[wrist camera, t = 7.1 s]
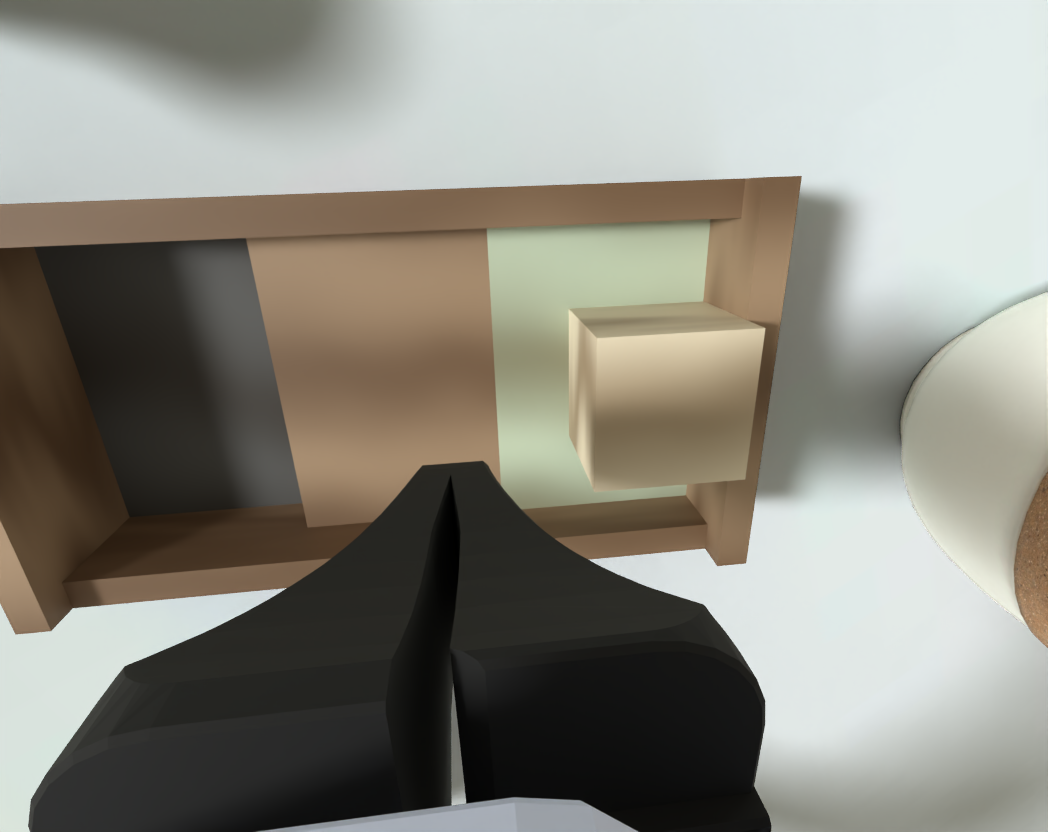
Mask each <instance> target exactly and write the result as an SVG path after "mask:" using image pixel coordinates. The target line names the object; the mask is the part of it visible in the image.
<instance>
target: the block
mask: <svg viewBox="0 0 1048 832" xmlns="http://www.w3.org/2000/svg"><path fill="white" fill-rule="evenodd" d="M764 335H765V328H764V327H762V326H759V325H757V324H755V323H752V322H750V321H748V320H745V319H743V318H741V317H738V316H736V315H734V314H731V313H729V312H727V311H724V310H722V309H720V308H717V307H715V306H713V305H710V304H708V303H706V302H703V301H701V302H682V303H664V304H646V305H627V306H609V307H590V308H572V309H569V437H570V439H571V441H572V444H573V446H574V448H575V450H576V452H577V455H578V457H579V459H580V461H581V463H582V466H583V468H584V470H585V472H586V474H587V477H588V479H589V481H590V483H591V486H592V488H593V490H594V492H602V491H614V490H626V489H638V488H650V487H662V486H674V485H685V484H697V483H709V482H721V481H733V480H745V477H746V470H747V462H748V455H749V447H750V440H751V432H752V425H753V417H754V410H755V402H756V395H757V388H758V380H759V373H760V365H761V358H762V350H763V343H764Z"/></svg>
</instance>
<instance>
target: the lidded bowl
mask: <svg viewBox="0 0 1048 832" xmlns="http://www.w3.org/2000/svg"><path fill="white" fill-rule="evenodd" d="M900 435H901V442H902V454H901V463H902V470H903V477H904V481H905V485H906V488H907V492H908V495H909V497H910V500H911V503H912V506H913V508H914V509H915V511H916V513H917V515H918V517H919V518H920V520H921V522H922V524H923V525H924V527H925V528H926V530H927V532H928V533H929V535H930V536H931V538H932V539H933V540H934V541H935V543H936V544H937V545H938V546H939V547H940V549H941V550H942V551H943V552H944V553H945V555H946V556H947V557H948V558H949V559H950V560H951V561H952V562H953V563H954V564H955V565H956V566H957V567H958V568H959V569H960V570H961V571H962V572H963V573H964V574H965V575H966V576H967V577H968V578H969V579H970V580H971V581H972V582H973V583H974V584H976V585H977V586H978V587H979V588H980V589H981V590H982V591H983V592H984V593H985V594H986V595H987V596H989V597H990V598H991V599H992V600H993V601H995V602H996V603H997V604H998V605H1000V606H1001V607H1002V608H1003V609H1004V610H1006V611H1007V612H1008V613H1009V614H1010V615H1012V616H1013V617H1014V618H1016V619H1017V620H1018V621H1020V622H1021V623H1022V624H1024V625H1025V626H1026V627H1028V628H1029V629H1030V631H1031V632H1032V633H1033V634H1034V635H1035V636H1036V637H1037V638H1038V639H1039V640H1040V641H1041V642H1042V643H1043V644H1044V645H1045V646H1046V647H1047V648H1048V292H1046V293H1043V294H1040V295H1038V296H1035V297H1033V298H1030V299H1028V300H1025V301H1023V302H1021V303H1018V304H1016V305H1013V306H1011V307H1009V308H1007V309H1005V310H1003V311H1002V312H1000V313H998V314H996V315H995V316H993V317H991V318H989V319H988V320H986V321H985V322H983V323H981V324H980V325H978V326H977V327H974V328H972V329H970V330H968V331H966V332H964V333H963V334H961V335H959V336H957V337H956V338H954V339H953V340H952V341H950V342H949V343H948V344H946V345H945V346H944V347H942V348H941V349H940V350H939V351H938V352H937V353H936V354H935V355H934V356H933V357H932V358H931V359H930V360H929V361H928V363H927V364H926V365H925V366H924V367H923V368H922V370H921V371H920V373H919V374H918V376H917V377H916V379H915V380H914V382H913V384H912V386H911V388H910V390H909V392H908V394H907V396H906V399H905V402H904V405H903V409H902V414H901V419H900Z"/></svg>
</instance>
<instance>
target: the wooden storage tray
mask: <svg viewBox="0 0 1048 832" xmlns="http://www.w3.org/2000/svg"><path fill="white" fill-rule="evenodd" d="M801 177H802V176H793V177H764V178H749V179H722V180H693V181H664V182H635V183H606V184H577V185H548V186H519V187H489V188H460V189H431V190H402V191H373V192H344V193H315V194H286V195H257V196H228V197H199V198H169V199H140V200H111V201H82V202H53V203H24V204H0V604H1V606H2V608H3V610H4V612H5V614H6V616H7V618H8V620H9V622H10V624H11V626H12V628H13V630H14V632H15V634H25V633H36V632H46V631H52V629H53V628H54V627H55V626H56V625H57V624H58V623H59V622H60V621H61V620H62V619H63V618H64V617H65V616H66V615H67V614H68V613H69V611H70V610H71V609H72V608H79V607H90V606H101V605H111V604H122V603H132V602H143V601H154V600H164V599H175V598H185V597H196V596H207V595H217V594H228V593H238V592H249V591H260V590H270V589H281V588H288V587H290V586H291V585H293V584H294V583H296V582H297V581H299V580H301V579H302V578H304V577H305V576H307V575H308V574H310V573H311V572H313V571H314V570H316V569H317V568H319V567H320V566H322V565H323V564H324V563H326V562H327V561H328V560H330V559H331V558H332V557H334V556H335V555H336V554H337V553H339V552H340V551H341V550H343V549H344V548H345V547H346V546H347V545H349V544H350V543H351V542H352V541H353V540H354V539H356V538H357V537H358V536H359V535H360V534H361V533H362V532H363V531H364V530H365V529H366V528H367V527H368V526H369V525H370V524H371V523H372V522H373V521H374V520H375V519H376V518H377V517H378V516H379V515H380V514H381V513H382V512H383V511H384V510H385V509H386V508H387V507H388V505H389V504H390V503H391V502H392V501H393V500H394V499H395V498H396V496H397V495H398V494H399V493H400V492H401V490H402V489H403V488H404V487H405V486H406V484H407V483H408V482H409V481H410V479H411V478H412V477H413V476H414V474H415V473H416V472H417V471H418V470H419V469H420V468H421V466H422V465H434V464H447V463H460V462H472V461H484V462H485V463H486V464H487V465H488V466H489V468H490V470H491V472H492V473H493V475H494V476H495V478H496V479H497V481H498V482H499V483H500V485H501V486H502V487H503V489H504V490H505V491H506V492H507V494H508V495H509V496H510V497H511V498H512V499H513V500H514V502H515V503H516V504H517V505H518V506H519V507H520V508H521V509H522V510H523V511H524V512H525V513H526V514H527V515H528V516H529V517H530V518H531V519H532V520H533V521H534V522H535V523H536V524H537V525H538V526H539V527H541V528H542V529H543V530H544V531H545V532H546V533H548V534H549V535H550V536H552V537H553V538H555V539H556V540H557V541H559V542H560V543H561V544H563V545H564V546H566V547H568V548H569V549H571V550H572V551H574V552H575V553H577V554H579V555H581V556H583V557H584V558H586V559H598V558H609V557H620V556H630V555H641V554H651V553H662V552H673V551H683V550H694V549H704V548H705V549H706V550H707V552H708V553H709V555H710V556H711V558H712V559H713V560H714V562H715V563H716V565H717V566H723V565H733V564H744V563H746V559H747V552H748V545H749V538H750V531H751V524H752V517H753V511H754V504H755V497H756V490H757V483H758V476H759V469H760V462H761V455H762V448H763V441H764V434H765V427H766V420H767V413H768V406H769V399H770V393H771V386H772V379H773V372H774V365H775V358H776V351H777V344H778V337H779V330H780V323H781V316H782V309H783V302H784V295H785V288H786V281H787V275H788V268H789V261H790V254H791V247H792V240H793V233H794V226H795V219H796V212H797V205H798V198H799V191H800V184H801ZM701 301H703V302H706V303H708V304H710V305H713V306H715V307H717V308H720V309H722V310H724V311H727V312H729V313H731V314H734V315H736V316H738V317H741V318H743V319H745V320H748V321H750V322H752V323H755V324H757V325H759V326H762V327H764V328H765V335H764V343H763V350H762V358H761V365H760V373H759V380H758V388H757V395H756V402H755V410H754V417H753V425H752V432H751V440H750V447H749V455H748V462H747V470H746V477H745V480H733V481H721V482H709V483H697V484H685V485H674V486H662V487H650V488H638V489H626V490H614V491H602V492H594V490H593V488H592V486H591V483H590V481H589V479H588V477H587V474H586V472H585V470H584V468H583V466H582V463H581V461H580V459H579V457H578V455H577V452H576V450H575V448H574V446H573V444H572V441H571V439H570V437H569V309H572V308H590V307H609V306H627V305H646V304H664V303H682V302H701Z"/></svg>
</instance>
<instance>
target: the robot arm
mask: <svg viewBox="0 0 1048 832" xmlns="http://www.w3.org/2000/svg"><path fill="white" fill-rule="evenodd" d="M453 684H454V693H455V702H456V711H457V720H458V729H459V739H460V748H461V757H462V766H463V775H464V784H465V794H466V804H460V805H453V806H451V704H452V687H453ZM764 727H765V699H764V697H763V694H762V691H761V689H760V686H759V684H758V681H757V679H756V677H755V676H754V674H753V672H752V671H751V669H750V668H749V666H748V664H747V663H746V661H745V660H744V658H743V656H742V655H741V653H740V652H739V650H738V649H737V647H736V646H735V645H734V643H733V642H732V640H731V639H730V638H729V636H728V635H727V633H726V632H725V631H724V630H723V628H722V627H721V626H720V625H719V624H718V622H717V621H716V620H715V619H714V618H713V616H712V615H711V614H710V612H709V611H708V610H707V608H706V607H705V606H704V605H703V604H700V603H697V602H693V601H690V600H687V599H684V598H681V597H677V596H674V595H671V594H668V593H665V592H662V591H658V590H655V589H652V588H649V587H646V586H644V585H641V584H639V583H637V582H634V581H632V580H629V579H627V578H625V577H622V576H620V575H617V574H615V573H613V572H611V571H609V570H607V569H605V568H603V567H601V566H599V565H597V564H595V563H593V562H591V561H590V560H588V559H586V558H584V557H583V556H581V555H579V554H577V553H575V552H574V551H572V550H571V549H569V548H568V547H566V546H564V545H563V544H561V543H560V542H559V541H557V540H556V539H555V538H553V537H552V536H550V535H549V534H548V533H546V532H545V531H544V530H543V529H542V528H541V527H539V526H538V525H537V524H536V523H535V522H534V521H533V520H532V519H531V518H530V517H529V516H528V515H527V514H526V513H525V512H524V511H523V510H522V509H521V508H520V507H519V506H518V505H517V504H516V503H515V502H514V500H513V499H512V498H511V497H510V496H509V495H508V494H507V492H506V491H505V490H504V489H503V487H502V486H501V485H500V483H499V482H498V481H497V479H496V478H495V476H494V475H493V473H492V472H491V470H490V468H489V466H488V465H487V464H486V463H485V462H484V461H472V462H460V463H447V464H434V465H422V466H421V468H420V469H419V470H418V471H417V472H416V473H415V474H414V476H413V477H412V478H411V479H410V481H409V482H408V483H407V484H406V486H405V487H404V488H403V489H402V490H401V492H400V493H399V494H398V495H397V496H396V498H395V499H394V500H393V501H392V502H391V503H390V504H389V505H388V507H387V508H386V509H385V510H384V511H383V512H382V513H381V514H380V515H379V516H378V517H377V518H376V519H375V520H374V521H373V522H372V523H371V524H370V525H369V526H368V527H367V528H366V529H365V530H364V531H363V532H362V533H361V534H360V535H359V536H358V537H357V538H356V539H354V540H353V541H352V542H351V543H350V544H349V545H347V546H346V547H345V548H344V549H343V550H341V551H340V552H339V553H337V554H336V555H335V556H334V557H332V558H331V559H330V560H328V561H327V562H326V563H324V564H323V565H322V566H320V567H319V568H317V569H316V570H314V571H313V572H311V573H310V574H308V575H307V576H305V577H304V578H302V579H301V580H299V581H297V582H296V583H294V584H293V585H291V586H290V587H288V588H287V589H285V590H284V591H282V592H280V593H279V594H277V595H276V596H274V597H272V598H270V599H269V600H267V601H265V602H263V603H261V604H260V605H258V606H256V607H254V608H252V609H251V610H249V611H247V612H245V613H243V614H241V615H239V616H237V617H235V618H233V619H231V620H229V621H227V622H225V623H223V624H221V625H219V626H217V627H215V628H213V629H211V630H209V631H207V632H205V633H203V634H200V635H198V636H196V637H193V638H191V639H189V640H186V641H184V642H182V643H179V644H177V645H175V646H172V647H170V648H168V649H165V650H163V651H161V652H158V653H156V654H154V655H151V656H149V657H147V658H144V659H142V660H139V661H137V662H134V663H132V664H129V665H127V666H125V667H124V668H123V669H122V671H121V672H120V673H119V674H118V676H117V677H116V678H115V680H114V681H113V682H112V684H111V685H110V686H109V688H108V689H107V690H106V692H105V693H104V694H103V696H102V697H101V698H100V700H99V701H98V702H97V704H96V705H95V707H94V708H93V709H92V711H91V712H90V714H89V715H88V716H87V718H86V719H85V721H84V722H83V723H82V725H81V726H80V728H79V729H78V730H77V732H76V733H75V735H74V736H73V737H72V739H71V740H70V742H69V743H68V744H67V746H66V747H65V749H64V750H63V751H62V753H61V754H60V756H59V757H58V758H57V760H56V761H55V763H54V764H53V765H52V767H51V768H50V769H49V771H48V772H47V774H46V775H45V777H44V779H43V780H42V782H41V784H40V785H39V787H38V789H37V790H36V792H35V794H34V795H33V797H32V799H31V805H30V814H29V824H28V827H29V830H30V832H771V822H770V818H769V815H768V813H767V811H766V809H765V807H764V805H763V803H762V801H761V799H760V797H759V795H758V793H757V791H756V789H755V787H754V782H755V777H756V771H757V766H758V760H759V755H760V749H761V744H762V738H763V733H764Z"/></svg>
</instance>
